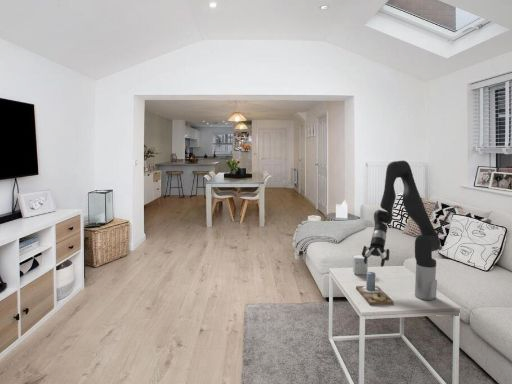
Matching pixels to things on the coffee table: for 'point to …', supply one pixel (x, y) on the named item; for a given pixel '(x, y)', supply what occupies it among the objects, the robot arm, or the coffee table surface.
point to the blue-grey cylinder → (370, 281)
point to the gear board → (374, 296)
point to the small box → (359, 265)
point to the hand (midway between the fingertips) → (373, 264)
